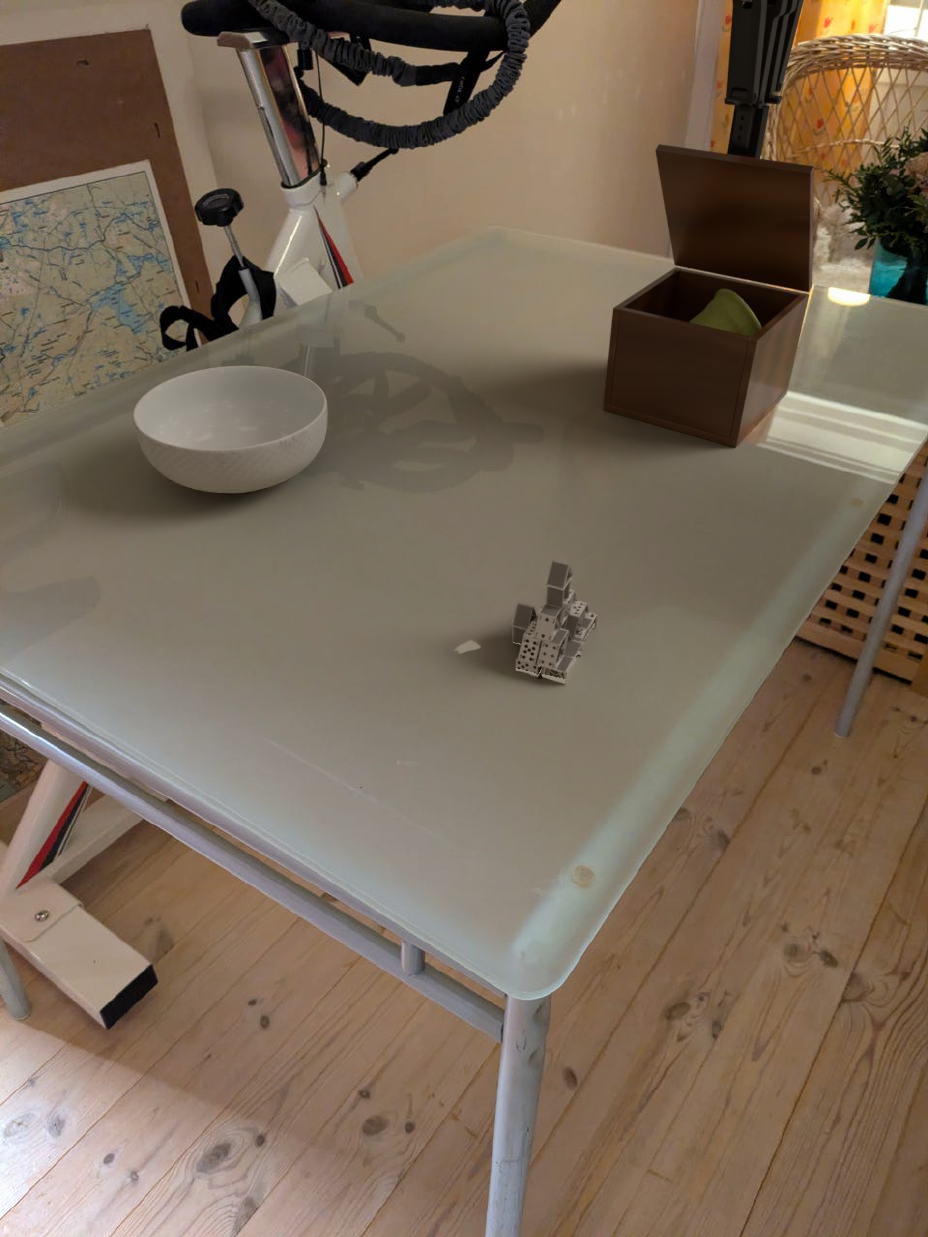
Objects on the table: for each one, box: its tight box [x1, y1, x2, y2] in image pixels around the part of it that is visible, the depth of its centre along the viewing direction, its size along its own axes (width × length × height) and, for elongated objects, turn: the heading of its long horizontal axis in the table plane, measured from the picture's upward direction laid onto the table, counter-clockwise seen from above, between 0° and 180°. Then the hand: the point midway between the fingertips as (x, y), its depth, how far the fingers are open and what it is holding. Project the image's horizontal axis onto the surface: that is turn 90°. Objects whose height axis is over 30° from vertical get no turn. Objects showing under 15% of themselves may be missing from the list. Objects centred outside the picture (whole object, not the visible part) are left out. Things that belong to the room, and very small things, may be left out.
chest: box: [602, 266, 810, 448], centre depth 97 cm, size 15×15×11 cm
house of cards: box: [511, 560, 598, 679], centre depth 68 cm, size 9×9×8 cm
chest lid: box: [655, 143, 815, 293], centre depth 92 cm, size 15×15×1 cm
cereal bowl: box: [132, 365, 329, 494], centre depth 87 cm, size 17×17×7 cm
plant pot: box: [690, 289, 762, 337], centre depth 97 cm, size 9×9×9 cm
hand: (738, 182), depth 89 cm, fingers closed
